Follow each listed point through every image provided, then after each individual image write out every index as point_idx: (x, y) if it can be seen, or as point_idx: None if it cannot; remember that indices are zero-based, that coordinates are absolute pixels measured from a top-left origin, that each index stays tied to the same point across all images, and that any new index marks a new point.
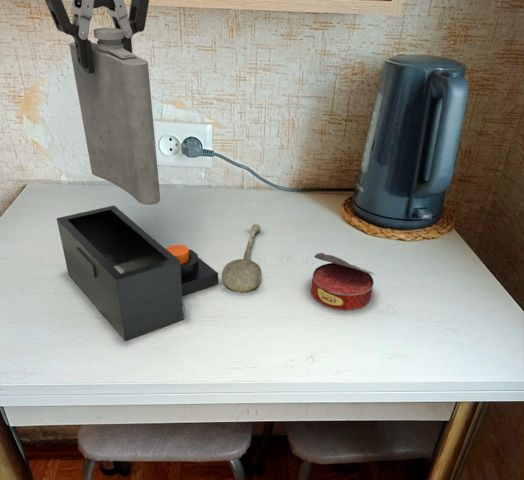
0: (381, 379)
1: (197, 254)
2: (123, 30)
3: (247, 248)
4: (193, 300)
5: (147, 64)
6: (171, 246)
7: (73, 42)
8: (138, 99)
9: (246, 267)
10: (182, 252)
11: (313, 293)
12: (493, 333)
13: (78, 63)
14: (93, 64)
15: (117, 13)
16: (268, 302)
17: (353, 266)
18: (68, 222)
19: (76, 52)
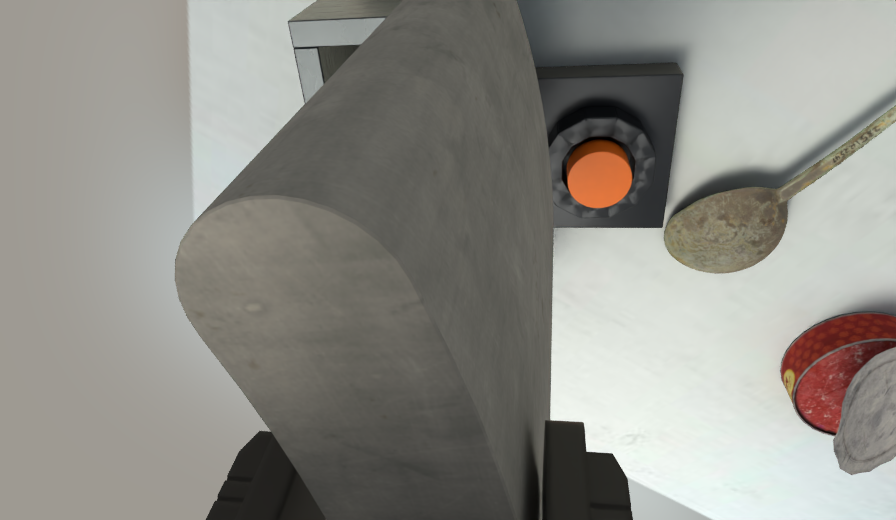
0: (680, 502)
1: (652, 183)
2: None
3: (835, 158)
4: (568, 233)
5: None
6: (597, 156)
7: (223, 224)
8: None
9: (734, 252)
10: (603, 198)
11: (794, 350)
12: None
13: (246, 444)
14: (324, 516)
15: None
16: (698, 312)
17: (854, 466)
18: (317, 72)
19: (214, 506)
